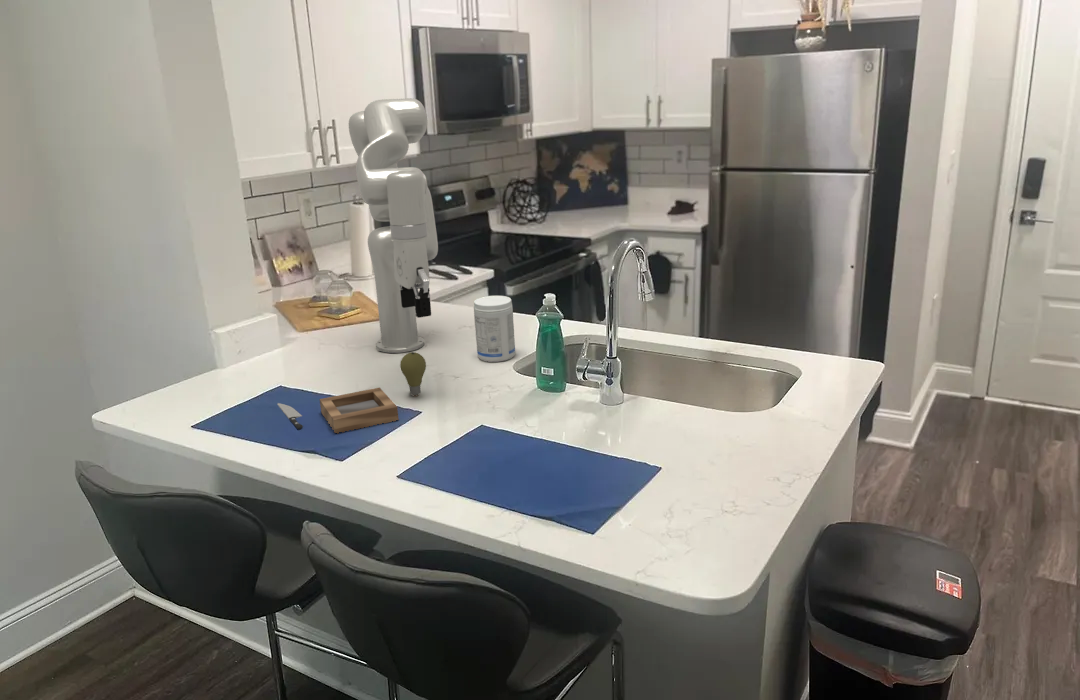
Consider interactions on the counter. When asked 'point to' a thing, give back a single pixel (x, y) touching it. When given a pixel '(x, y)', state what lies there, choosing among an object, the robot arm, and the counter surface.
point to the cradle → (358, 410)
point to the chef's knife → (291, 414)
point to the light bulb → (413, 371)
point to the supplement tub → (494, 328)
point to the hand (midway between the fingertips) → (416, 311)
